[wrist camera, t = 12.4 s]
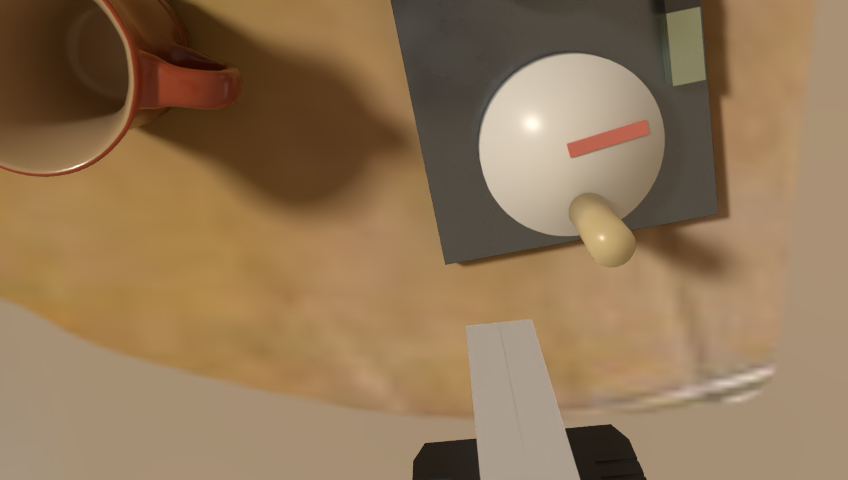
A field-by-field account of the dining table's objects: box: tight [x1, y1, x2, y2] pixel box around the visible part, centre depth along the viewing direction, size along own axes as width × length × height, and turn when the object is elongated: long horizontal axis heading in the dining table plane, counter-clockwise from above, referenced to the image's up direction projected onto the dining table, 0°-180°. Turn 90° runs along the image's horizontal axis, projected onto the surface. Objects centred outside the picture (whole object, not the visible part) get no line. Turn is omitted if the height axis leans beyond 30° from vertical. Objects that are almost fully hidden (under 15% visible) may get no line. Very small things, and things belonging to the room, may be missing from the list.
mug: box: [0, 0, 243, 177], centre depth 33 cm, size 12×9×10 cm
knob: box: [478, 52, 665, 267], centre depth 34 cm, size 9×9×7 cm
